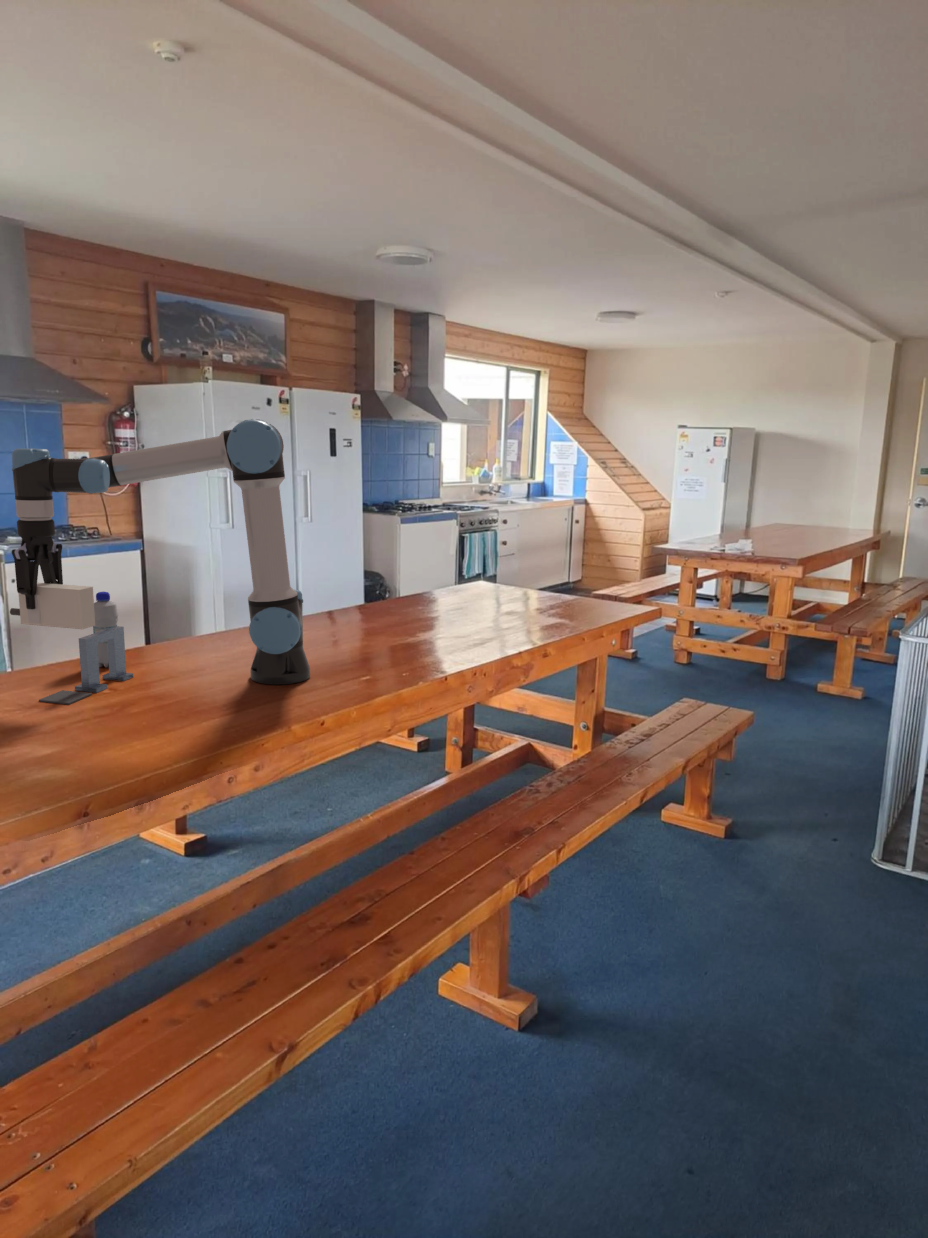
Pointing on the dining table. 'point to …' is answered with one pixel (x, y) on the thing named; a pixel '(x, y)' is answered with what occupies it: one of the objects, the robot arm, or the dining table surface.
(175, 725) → the dining table surface
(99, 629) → the bottle
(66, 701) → the mat
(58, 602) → the white block
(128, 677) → the blue-grey arch stand
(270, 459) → the robot arm
